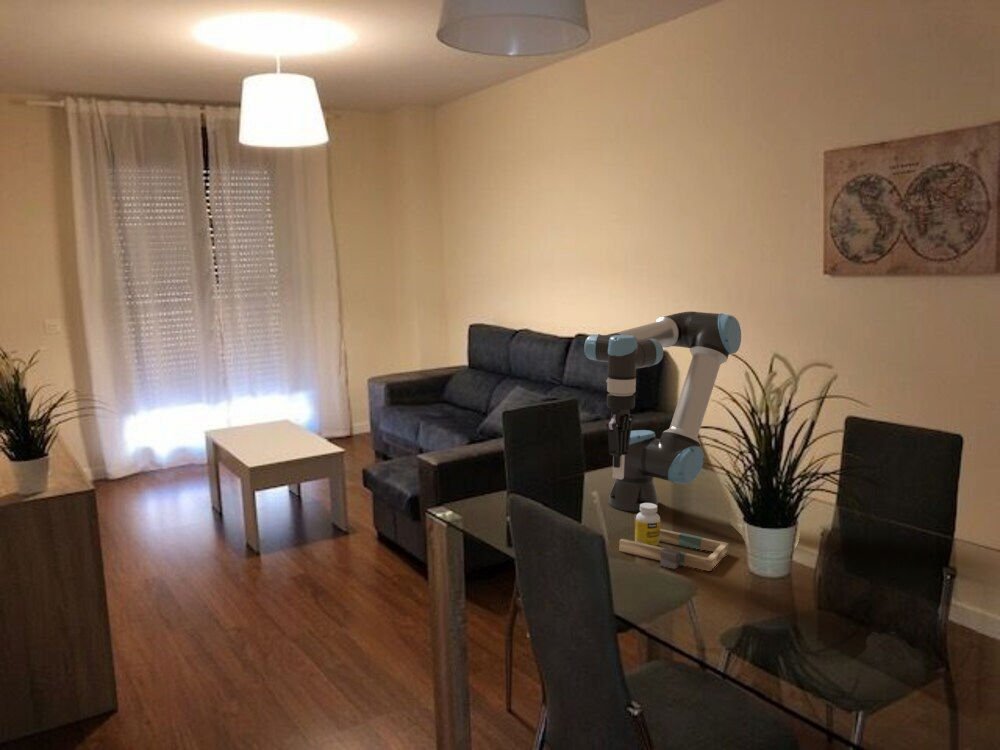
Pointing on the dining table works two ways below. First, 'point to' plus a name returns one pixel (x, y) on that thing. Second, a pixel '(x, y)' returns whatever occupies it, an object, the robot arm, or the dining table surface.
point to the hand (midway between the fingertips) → (618, 477)
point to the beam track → (674, 556)
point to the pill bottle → (648, 525)
